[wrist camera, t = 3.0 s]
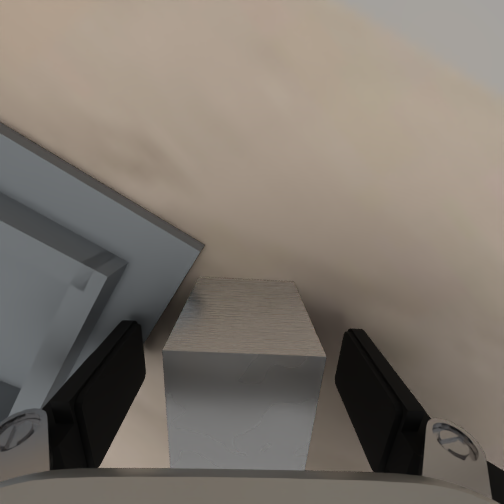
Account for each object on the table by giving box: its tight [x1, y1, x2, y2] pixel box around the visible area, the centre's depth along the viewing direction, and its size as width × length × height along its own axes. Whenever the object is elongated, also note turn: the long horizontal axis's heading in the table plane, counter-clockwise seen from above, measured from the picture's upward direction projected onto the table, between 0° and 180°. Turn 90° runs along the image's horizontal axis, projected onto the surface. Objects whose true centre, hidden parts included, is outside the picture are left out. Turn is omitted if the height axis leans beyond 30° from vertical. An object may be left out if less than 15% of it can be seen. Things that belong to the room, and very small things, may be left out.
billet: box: [162, 277, 326, 470], centre depth 10 cm, size 4×6×5 cm
